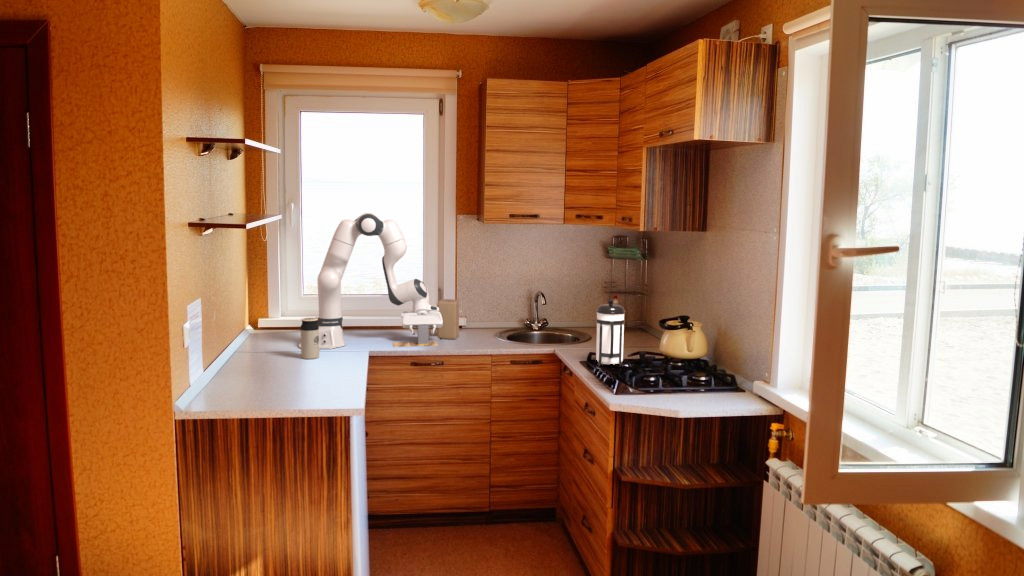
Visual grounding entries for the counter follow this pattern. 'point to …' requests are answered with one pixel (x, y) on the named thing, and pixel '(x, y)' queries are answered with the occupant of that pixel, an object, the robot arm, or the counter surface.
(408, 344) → the board
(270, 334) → the counter surface
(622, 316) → the coffee press
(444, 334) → the wooden block
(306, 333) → the travel mug
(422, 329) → the block
